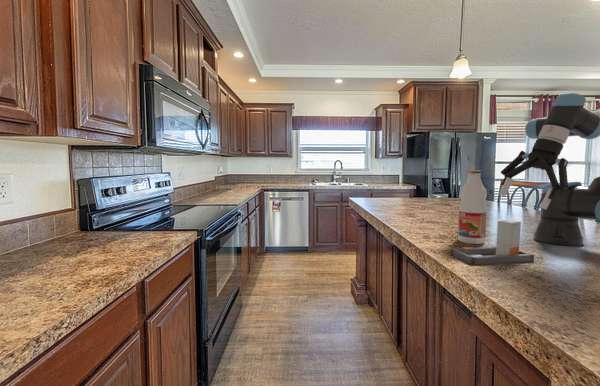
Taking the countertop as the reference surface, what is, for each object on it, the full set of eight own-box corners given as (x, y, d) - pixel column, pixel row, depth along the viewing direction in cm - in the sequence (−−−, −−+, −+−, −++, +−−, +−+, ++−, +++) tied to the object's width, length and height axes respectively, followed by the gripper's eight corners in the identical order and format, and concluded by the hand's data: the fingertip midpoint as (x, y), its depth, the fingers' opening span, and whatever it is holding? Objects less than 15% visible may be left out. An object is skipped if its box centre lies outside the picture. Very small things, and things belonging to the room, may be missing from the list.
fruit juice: (490, 243, 123) (494, 170, 121) (468, 245, 122) (471, 170, 119) (473, 238, 132) (476, 170, 130) (452, 239, 131) (455, 170, 128)
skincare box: (508, 260, 103) (510, 223, 102) (495, 256, 107) (497, 221, 105) (519, 257, 106) (521, 221, 104) (506, 254, 109) (507, 219, 108)
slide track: (506, 251, 112) (507, 245, 112) (533, 261, 101) (534, 254, 101) (450, 254, 109) (450, 247, 109) (471, 264, 99) (472, 257, 98)
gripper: (507, 132, 114) (481, 188, 117) (591, 143, 92) (557, 211, 95) (518, 139, 117) (493, 193, 121) (601, 151, 96) (568, 217, 99)
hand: (521, 201), depth 108 cm, fingers open, 13 cm apart
